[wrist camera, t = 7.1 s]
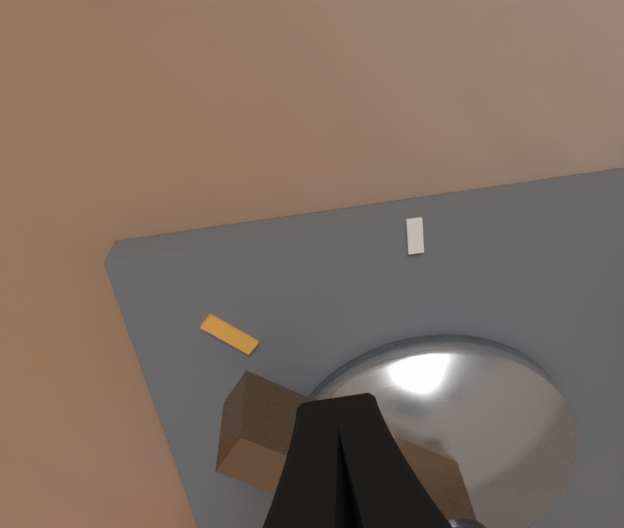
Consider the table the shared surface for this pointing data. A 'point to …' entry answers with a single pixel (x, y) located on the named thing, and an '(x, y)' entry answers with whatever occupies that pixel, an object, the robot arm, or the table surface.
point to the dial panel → (386, 315)
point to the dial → (430, 425)
